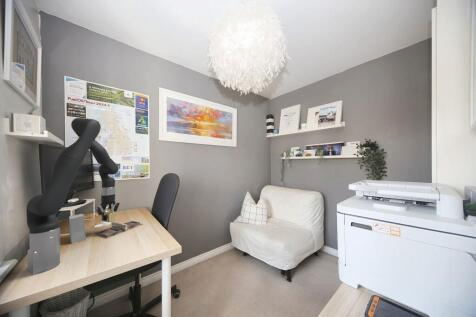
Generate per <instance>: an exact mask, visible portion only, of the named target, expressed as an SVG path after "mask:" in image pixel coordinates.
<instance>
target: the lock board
mask: <svg viewBox="0 0 476 317" xmlns="http://www.w3.org/2000/svg"><path fill="white" fill-rule="evenodd" d="M143 225H144V224H143V223H140V221H134V220H130V221H127V222H124V223H121V222H116V221H113V222H111V227H108V228H105V229H102V230H101V229H100V230H99V231H96V232H95V233H93V234H91V236H95V237H98V238H102V239H105V240H107V239H109V238H112V237H115V236H116V235H117V236H118V235H119V234H122V233H125V232H128V231H129V230H133V229H135V228H138V227H140V226H143Z"/></svg>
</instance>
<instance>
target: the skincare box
mask: <svg viewBox="0 0 476 317" xmlns="http://www.w3.org/2000/svg"><path fill="white" fill-rule="evenodd" d="M85 224H86V222H85V214H84V213H77V214H74V215H70V216H68V226H69V228H68V229H69V238H70V244H72V245H74V244H78V243H80V242H84V241H87V238H86V237H87V236H86V226H85Z"/></svg>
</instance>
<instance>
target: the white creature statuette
mask: <svg viewBox="0 0 476 317" xmlns="http://www.w3.org/2000/svg"><path fill="white" fill-rule="evenodd" d="M108 211H110V210H109V209H108ZM110 225H112V222H104V221H101V220H100V222H99V224H96V225H94V228H101V227H107V226H110Z"/></svg>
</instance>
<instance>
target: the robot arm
mask: <svg viewBox="0 0 476 317" xmlns="http://www.w3.org/2000/svg"><path fill="white" fill-rule="evenodd" d="M70 126H71V129H72V130H73V132H74V133H75V135H76V136H77V137H78V138H77V139H76V140H75V142H73V143H71V145H69V146H68V147H66V148H64V149H63V150H62V151H61V152H60V153H59V155H58V156H57V158H56V160H55V162H54V164H53V165H52V172H51V180H50V183H49V186H48V187H47V189H46V191H45V192H44V194H43V193H42V194H38V195H35V196H34V197H32V198H30V199H29V201H28V202H27V205H26V211H25V213H26V224H27V228H28V229H29V249H27V256H26V258H27V260H26V262H27V263H26V266H27V268H26V269H27V273H29V274H31V275H32V276H33V275H36V274H40V273H44V272H47V271H50V270H52V269H53V268H54V269H55V268H56V267H57V266H59V265H60V264H61V221H60V220H59V218H58V217H57V215H56V214H58V212H60V210H62V208H63V206H64V204H65V201H66V199H67V197H68V193H69V191H70V187H71V186H72V183H73V182H74V179H75V178H76V175H77V173H78V172H79V169H80V168H81V166H82V164H83V162H84V159H85V158H86V155H87V154H88V152H89V151H90V152H91V154H92V155H93V158H94V159H95V161H96V163H97V164H99V167H98V174H99V177H100V180H101V190H100V204H99V205H98V206H95V210H96V213H97V214H98V216H101V215H102V220H103V221H106V212H107V210H108V211H109V210H110V211H114V212H115V213H117V212H118V209H119V207H120V202H116V179H115V178H114V177H110V176H109V175H116V174H118V172H119V170H120V169H119V166H118V164H117V163H116V162H115V161H114V160H113V159H112V158H111V156H110V155H109V153H108V151H107V149H105V147H104V146H103V145H102V144H100V142H98V141H97V140H96V139H97V137H98V136H99V134H100V133H101V129H102V127H101V126H102V125H101V123H100V121H99V120H96V119H94V118H85V117H84V118H83V117H75V118H73V119H72V121H71V122H70Z"/></svg>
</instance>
